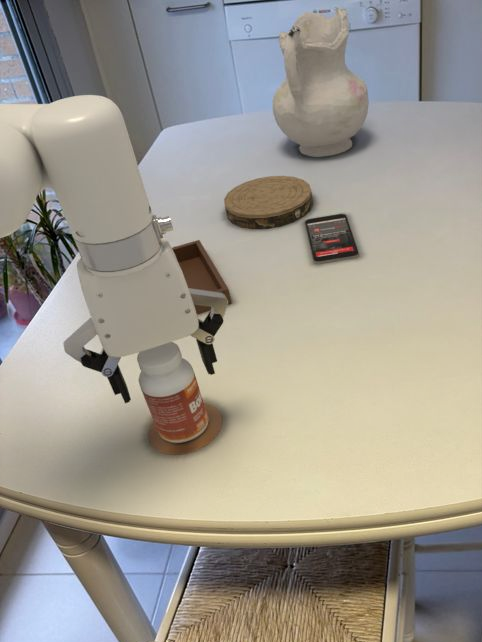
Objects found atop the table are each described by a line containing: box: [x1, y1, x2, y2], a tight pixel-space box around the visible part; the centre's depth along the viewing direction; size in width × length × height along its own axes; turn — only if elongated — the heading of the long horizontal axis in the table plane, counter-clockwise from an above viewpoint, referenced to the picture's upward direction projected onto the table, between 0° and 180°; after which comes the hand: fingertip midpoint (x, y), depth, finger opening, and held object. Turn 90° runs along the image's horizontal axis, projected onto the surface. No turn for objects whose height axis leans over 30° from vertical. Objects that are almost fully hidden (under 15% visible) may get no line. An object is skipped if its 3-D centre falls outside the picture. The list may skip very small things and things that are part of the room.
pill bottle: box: [136, 341, 208, 443], centre depth 74 cm, size 6×6×11 cm
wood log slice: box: [223, 175, 314, 230], centre depth 117 cm, size 16×16×3 cm
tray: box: [172, 239, 233, 315], centre depth 100 cm, size 18×18×3 cm
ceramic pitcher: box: [272, 6, 370, 158], centre depth 128 cm, size 22×20×25 cm
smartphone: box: [304, 213, 360, 265], centre depth 107 cm, size 7×1×15 cm
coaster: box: [147, 402, 223, 456], centre depth 78 cm, size 9×9×1 cm
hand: (168, 381), depth 73 cm, fingers open, 9 cm apart
